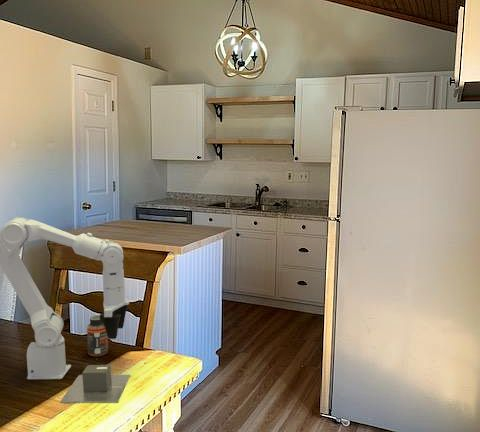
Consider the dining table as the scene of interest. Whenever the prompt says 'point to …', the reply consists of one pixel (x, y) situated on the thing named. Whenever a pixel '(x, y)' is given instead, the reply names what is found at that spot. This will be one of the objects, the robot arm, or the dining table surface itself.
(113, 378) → the grey flat square slab
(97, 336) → the supplement bottle
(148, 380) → the dining table surface
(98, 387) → the striped grey block
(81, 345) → the dining table surface
